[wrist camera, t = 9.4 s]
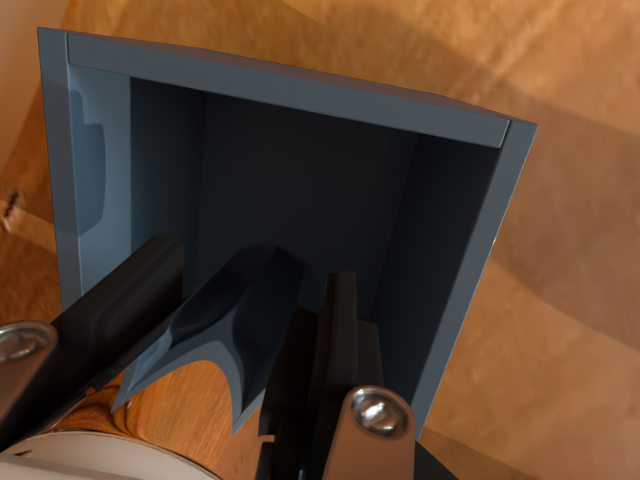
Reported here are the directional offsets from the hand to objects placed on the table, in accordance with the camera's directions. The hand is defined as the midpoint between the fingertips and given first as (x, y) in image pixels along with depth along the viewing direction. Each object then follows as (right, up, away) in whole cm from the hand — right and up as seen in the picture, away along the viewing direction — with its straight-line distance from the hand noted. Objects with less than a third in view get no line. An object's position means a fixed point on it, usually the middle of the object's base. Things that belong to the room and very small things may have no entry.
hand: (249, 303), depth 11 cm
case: (+1, +4, +14) cm, 15 cm away
